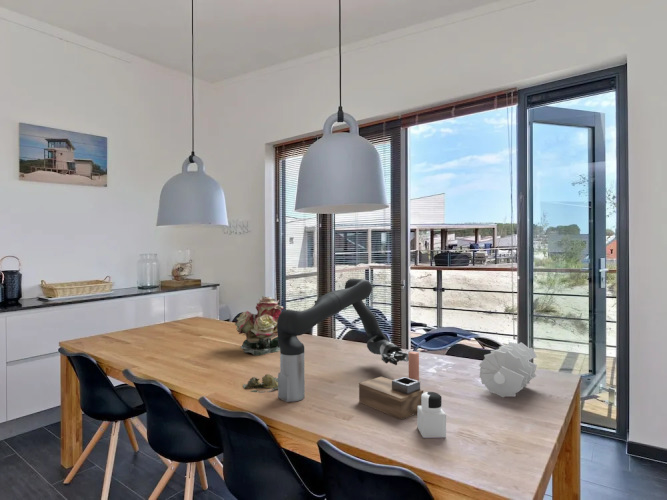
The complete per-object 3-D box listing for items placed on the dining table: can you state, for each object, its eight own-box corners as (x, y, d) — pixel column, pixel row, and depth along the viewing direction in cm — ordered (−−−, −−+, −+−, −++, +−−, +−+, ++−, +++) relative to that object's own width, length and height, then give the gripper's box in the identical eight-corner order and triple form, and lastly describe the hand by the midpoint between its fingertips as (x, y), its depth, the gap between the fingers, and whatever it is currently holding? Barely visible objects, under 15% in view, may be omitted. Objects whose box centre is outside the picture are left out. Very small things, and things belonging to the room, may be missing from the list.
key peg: (414, 396, 153) (414, 354, 153) (406, 393, 156) (406, 352, 156) (421, 394, 156) (421, 353, 156) (412, 391, 159) (412, 351, 159)
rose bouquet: (231, 347, 230) (231, 295, 229) (280, 341, 243) (279, 292, 243) (243, 358, 207) (243, 300, 207) (295, 351, 220) (295, 297, 220)
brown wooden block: (401, 419, 133) (401, 389, 132) (359, 402, 148) (359, 375, 148) (423, 410, 140) (423, 381, 140) (381, 394, 156) (381, 368, 155)
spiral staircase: (487, 406, 153) (507, 385, 173) (532, 397, 143) (547, 375, 162) (466, 360, 158) (487, 345, 177) (508, 348, 147) (526, 333, 167)
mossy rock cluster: (295, 383, 170) (295, 370, 170) (268, 396, 155) (268, 382, 155) (262, 376, 179) (263, 364, 179) (234, 388, 164) (234, 375, 164)
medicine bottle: (439, 427, 127) (439, 389, 127) (446, 437, 120) (446, 398, 120) (417, 427, 127) (417, 389, 127) (422, 438, 120) (422, 398, 120)
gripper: (375, 344, 177) (389, 354, 161) (405, 342, 180) (422, 351, 164) (375, 361, 177) (389, 372, 161) (405, 359, 180) (422, 369, 164)
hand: (406, 362), depth 163 cm, fingers open, 8 cm apart
